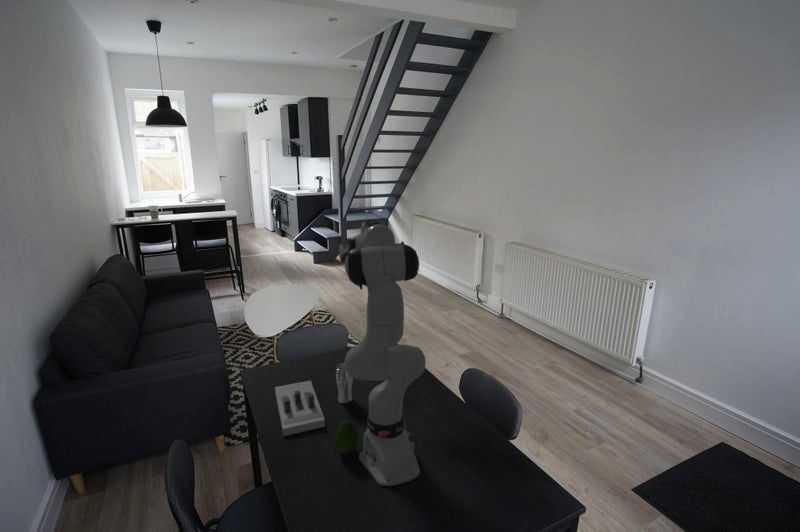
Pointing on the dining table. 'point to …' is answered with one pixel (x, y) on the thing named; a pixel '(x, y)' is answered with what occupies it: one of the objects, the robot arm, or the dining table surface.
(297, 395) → the breaker handle
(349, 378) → the beer glass
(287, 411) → the breaker panel
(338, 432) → the avocado
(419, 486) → the dining table surface
